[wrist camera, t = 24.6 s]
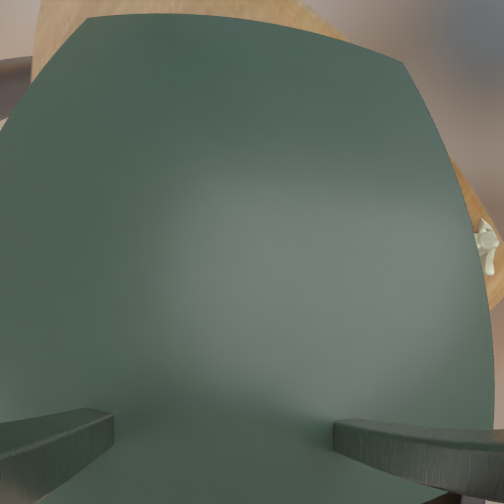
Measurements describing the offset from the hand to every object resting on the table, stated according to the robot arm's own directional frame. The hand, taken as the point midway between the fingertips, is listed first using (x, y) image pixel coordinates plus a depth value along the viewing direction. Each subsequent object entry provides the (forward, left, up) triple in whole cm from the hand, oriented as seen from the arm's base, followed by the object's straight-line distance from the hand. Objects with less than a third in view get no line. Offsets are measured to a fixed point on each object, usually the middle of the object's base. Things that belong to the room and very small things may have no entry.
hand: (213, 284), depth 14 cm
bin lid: (-2, +6, +3) cm, 7 cm away
